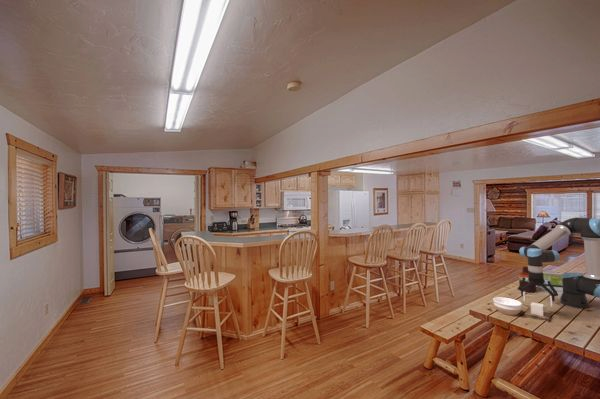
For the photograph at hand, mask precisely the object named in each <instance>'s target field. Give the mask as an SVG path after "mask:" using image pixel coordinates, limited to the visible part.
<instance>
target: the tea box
mask: <svg viewBox="0 0 600 399" xmlns="http://www.w3.org/2000/svg"><path fill="white" fill-rule="evenodd" d="M562 274H563V273H562V272H559V271H553V270H552V271H550V270H549V271H548V270H543V276H544V280H547V281H548V280H550V282H551V285H552V286H553V287H554V289H555V290H556V292H562V293H563V284H562ZM543 284H544V285H545V286H546V287H547V288H548V289H549V290H550V291H552V290H551V288H550V287H549V285H548V284H547V283H546V282H545V283H543ZM537 287H538V288H539V289H540V288H541V290H542V291H546V290H545V289H544V288H543V287H542V286H537Z"/></svg>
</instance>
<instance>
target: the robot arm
mask: <svg viewBox="0 0 600 399" xmlns="http://www.w3.org/2000/svg"><path fill="white" fill-rule="evenodd" d="M574 234H577V235H578V234H579V235H580V238H581V239H583V245H584V261H585V264H584V265H585V274H584V273H582V272H563V273H562V284H563V292H562V293H561V296H560V298H559V302H560V303H561V304H563V305H565V306H568V307H569V306H570V307H574V308H577V309H578V308H580V309H589V308H590V307H591V304H590V302H589V300H588V297H587V296H586V295H589V296H592V297H595V298H599V299H600V218H597V217H572V218H571V217H570V218H568V219H566V220H563V221H562V222H560V223H558V224H556V225H555V227H554V229H552V230H551V231H549V232H547V233H546V234H544V235H543V236H541V237H540V238H539V239H537V240H535V242H533V243H531V244H530V245H529V246H521V247H520V248H519V251H518V252H519V254H520V256H521V257H524V258H526V259H527V267H528V270H529V272H528V273H529V278H526V277H523V281H522V282H521V284H520V286H519V285H518V287H517V290H518V291H520V295H521V297H523V298H522V299H523V302H526V300H527V299H526V292H525V291H524V290H525V289H526V288H528V287H529V286H530V285H534V286H536V287H538V286H542V287H543V288H544V289H545V290H544V291H546V292H547V293H548V294H549V300H550V307H553V302H555V301H556V300H555V297H558V296H559V294H558V291H556V290H555V289H554V287H553V286H552V285H551V282H550V280H548V281H547V280H544V276H543V271H544V267H543V266H544V264H543V263H553V262H558V261H559V260H560V258H561V257H560V256H561V255H560V253H559V251H556V250H554V249H552V250H551V249H550V250H548V249H549V248H550V247H552V246H553V245H555V244H556V243H557V242H559V241H560V240H562V239H563V238H565V237H569V236H571V235H574ZM527 280H528V281H529V282H530V283H528V284H527V285H526V286H525V287H523V288H522V289H521V287H522V285H523V284H524V282H525V281H527ZM545 282H546V283H547V284H548V285H549V287H550V288H551V290H549V289H548V288H547V287H546V286H545V285H544V284H543V283H545Z"/></svg>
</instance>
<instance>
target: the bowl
mask: <svg viewBox="0 0 600 399" xmlns="http://www.w3.org/2000/svg"><path fill="white" fill-rule="evenodd" d="M492 300H493V305H494V307H495V308H494V309H496V310H497V312H498V313H500V314H502V315H506V316H511V317H512V316H514V317H515V316H517V315H518V314H519V313H520V312H521V311H522V305H523V303H522V302H521V301H519V300H517V299H514V298H509V297H503V296H501V297H500V296H497V297H496V296H495V297H493V298H492Z"/></svg>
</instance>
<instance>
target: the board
mask: <svg viewBox="0 0 600 399" xmlns="http://www.w3.org/2000/svg"><path fill="white" fill-rule="evenodd" d="M524 317H525V318H528V319H529V318H530V319H534V320H538V319H539V321H542V320H545V321H544V322H546V321H548V322H547V323H549V322H550V321H551V318H550V317H552V312H551V311H547V310H544V315H543V316H540V315H536V314H531V307H527V308H526V310H525V312H524Z"/></svg>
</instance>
